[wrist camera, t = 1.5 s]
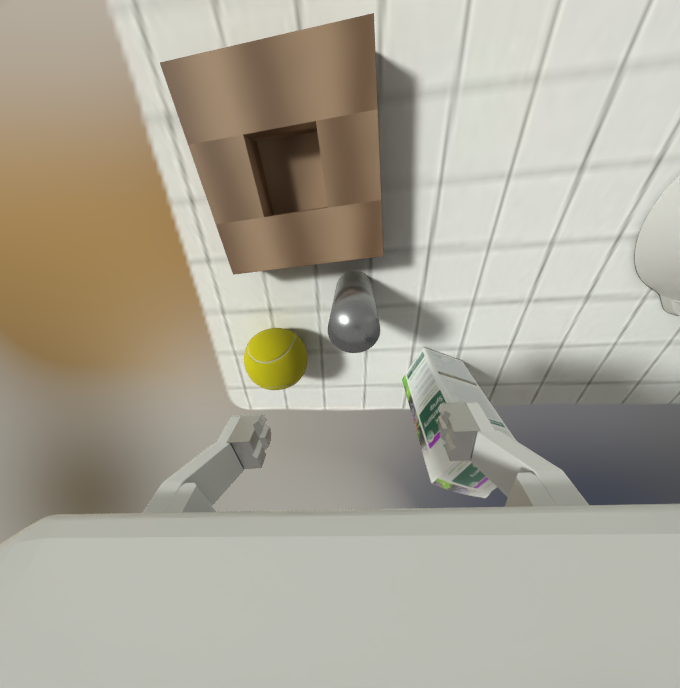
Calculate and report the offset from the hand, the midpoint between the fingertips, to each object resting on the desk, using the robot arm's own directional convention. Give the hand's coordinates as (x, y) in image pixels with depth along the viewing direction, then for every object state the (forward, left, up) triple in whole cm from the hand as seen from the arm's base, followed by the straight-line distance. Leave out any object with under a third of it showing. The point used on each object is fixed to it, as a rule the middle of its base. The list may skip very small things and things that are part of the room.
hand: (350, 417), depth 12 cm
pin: (0, 0, -19) cm, 19 cm away
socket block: (+4, -11, -19) cm, 22 cm away
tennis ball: (+9, +6, -19) cm, 22 cm away
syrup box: (-9, +12, -19) cm, 24 cm away
